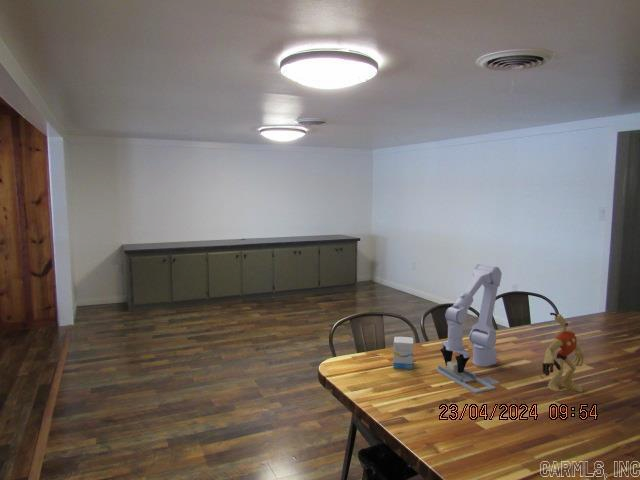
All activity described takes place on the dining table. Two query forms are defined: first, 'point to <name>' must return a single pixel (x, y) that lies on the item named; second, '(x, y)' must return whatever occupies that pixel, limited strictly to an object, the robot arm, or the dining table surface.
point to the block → (453, 366)
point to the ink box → (403, 353)
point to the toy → (563, 357)
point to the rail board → (465, 379)
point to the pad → (489, 380)
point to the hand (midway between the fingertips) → (454, 369)
